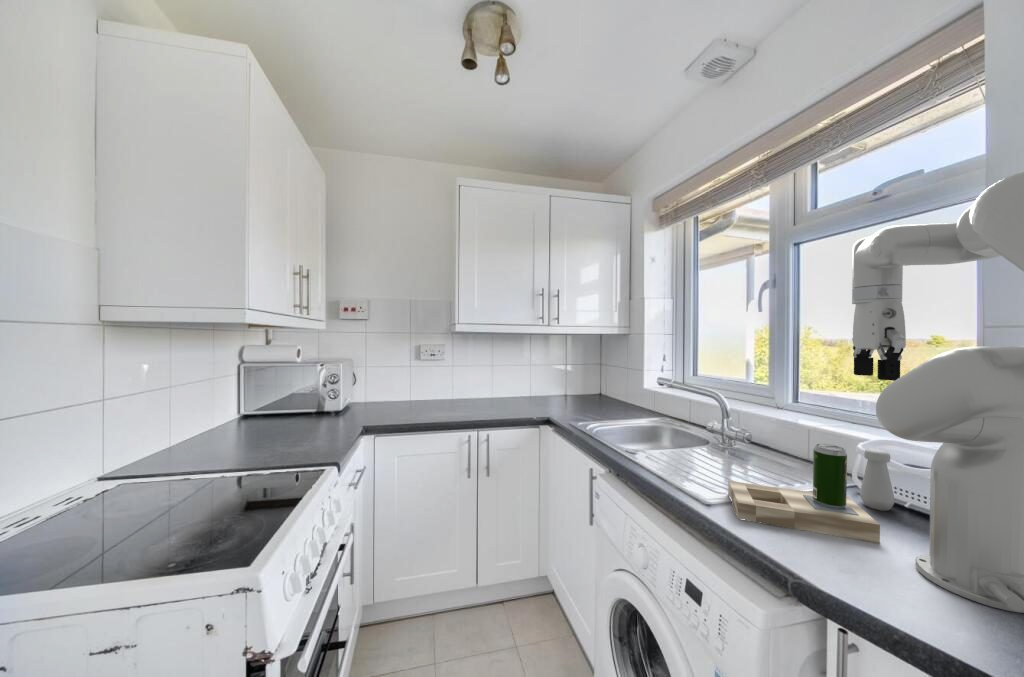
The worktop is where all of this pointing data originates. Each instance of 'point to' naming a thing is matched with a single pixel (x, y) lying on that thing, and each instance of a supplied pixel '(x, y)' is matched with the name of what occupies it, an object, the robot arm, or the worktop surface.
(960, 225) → the robot arm
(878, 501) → the salt shaker
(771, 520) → the can block
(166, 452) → the worktop surface
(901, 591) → the worktop surface
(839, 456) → the beer can
